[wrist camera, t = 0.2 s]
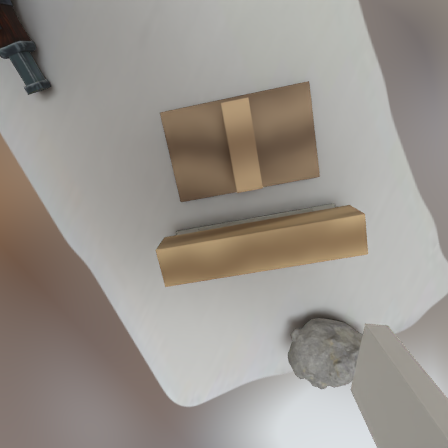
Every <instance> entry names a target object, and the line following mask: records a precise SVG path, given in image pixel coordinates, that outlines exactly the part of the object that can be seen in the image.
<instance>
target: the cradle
mask: <svg viewBox="0 0 448 448" xmlns="http://www.w3.org/2000/svg"><path fill="white" fill-rule="evenodd" d="M330 208H335V204H328V205H322V206H317V207H311V208H305V209H300V210H294V211H288V212H283V213H277V214H271V215H266V216H260V217H254V218H249V219H243V220H237V221H232V222H226V223H220V224H215V225H209V226H203V227H198V228H192V229H186V230H181V231H177V232H176V235H181V234H187V233H193V232H198V231H204V230H210V229H215V228H221V227H227V226H233V225H238V224H244V223H250V222H255V221H261V220H267V219H273V218H278V217H284V216H290V215H295V214H301V213H307V212H312V211H318V210H324V209H330Z"/></svg>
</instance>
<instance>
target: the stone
mask: <svg viewBox="0 0 448 448" xmlns="http://www.w3.org/2000/svg"><path fill="white" fill-rule="evenodd" d="M362 336H363V334H360V333H358V332H357V331H356V330H355V329H353V328H352V327H350V326H349V325H347V324H346V323H345V322H340V321H336V320H331V319H321V318H316V319H311V320H310V321H308V322H307V323H306V324H305V325H304V327H303V328H301V329H294V331H293V332H292V334H291V337H292V340H293V341H292V344H291V347H290V350H289V352H288V360H289V363H290V365H291V367H292V369H293V371H294V373H295V375H296V376H297V377H299V378H300V379H304V378H305V379H307V380H308V381H310V382H311V384H312V385H313V386H315V387H318V388H320V389H324V388H326V387H327V386H332V387H339V386H342V385H346V384H349V383H350V382H351V381H353V377H354V372H355V368H356V363H357V359H358V354H359V350H360V345H361V341H362Z"/></svg>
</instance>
